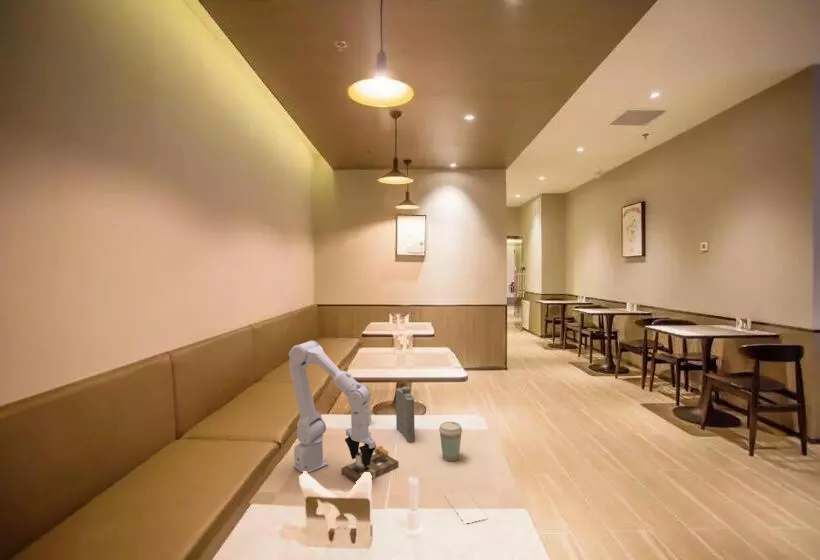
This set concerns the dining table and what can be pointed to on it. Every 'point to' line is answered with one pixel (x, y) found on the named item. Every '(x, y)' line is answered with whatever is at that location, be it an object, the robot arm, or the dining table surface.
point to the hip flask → (405, 413)
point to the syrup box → (369, 410)
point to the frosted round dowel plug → (359, 463)
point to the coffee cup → (450, 440)
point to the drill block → (371, 467)
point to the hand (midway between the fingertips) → (360, 461)
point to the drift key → (381, 451)
